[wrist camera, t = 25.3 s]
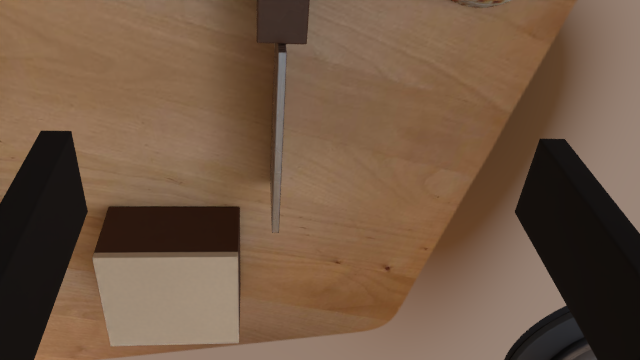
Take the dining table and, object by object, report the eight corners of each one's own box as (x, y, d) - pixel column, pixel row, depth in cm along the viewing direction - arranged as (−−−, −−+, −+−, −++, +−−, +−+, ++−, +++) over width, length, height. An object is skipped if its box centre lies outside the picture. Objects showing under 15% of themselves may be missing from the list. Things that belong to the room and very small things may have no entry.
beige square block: (240, 290, 55) (239, 343, 50) (123, 292, 53) (110, 346, 49) (239, 206, 49) (237, 257, 44) (108, 206, 47) (91, 258, 43)
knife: (258, -140, 34) (259, -120, 29) (310, -136, 34) (319, -116, 29) (254, 182, 47) (254, 233, 42) (291, 182, 48) (296, 233, 43)
